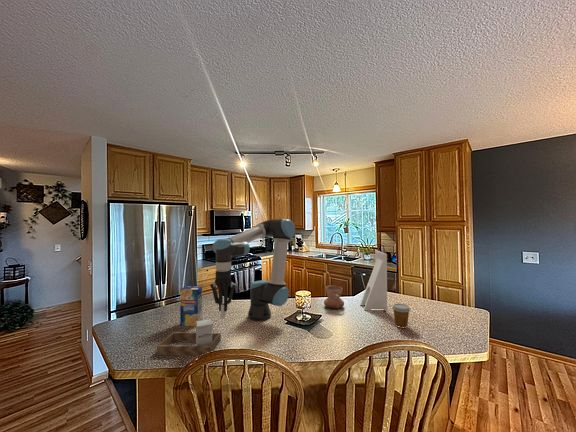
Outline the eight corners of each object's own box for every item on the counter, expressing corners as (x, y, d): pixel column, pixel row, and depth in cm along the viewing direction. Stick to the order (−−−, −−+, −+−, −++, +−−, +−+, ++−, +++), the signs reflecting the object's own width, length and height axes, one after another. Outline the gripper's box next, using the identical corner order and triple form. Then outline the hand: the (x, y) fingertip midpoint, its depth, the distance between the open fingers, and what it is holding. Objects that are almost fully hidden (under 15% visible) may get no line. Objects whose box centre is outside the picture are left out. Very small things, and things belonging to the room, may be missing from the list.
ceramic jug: (347, 310, 177) (347, 290, 177) (327, 311, 175) (327, 290, 176) (339, 302, 195) (339, 284, 195) (321, 303, 193) (321, 284, 194)
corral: (220, 340, 135) (220, 332, 135) (210, 355, 120) (210, 347, 120) (173, 339, 136) (173, 331, 136) (156, 354, 121) (156, 346, 121)
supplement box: (196, 352, 123) (196, 326, 123) (195, 345, 129) (195, 320, 130) (212, 349, 126) (212, 323, 126) (210, 342, 132) (210, 318, 132)
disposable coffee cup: (410, 324, 154) (409, 304, 154) (410, 331, 145) (410, 309, 145) (393, 321, 158) (392, 302, 158) (392, 328, 149) (392, 307, 149)
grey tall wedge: (357, 303, 193) (357, 250, 193) (376, 303, 193) (376, 250, 193) (366, 312, 173) (365, 254, 173) (387, 312, 173) (386, 253, 173)
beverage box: (197, 326, 153) (197, 289, 153) (180, 325, 153) (180, 289, 154) (202, 321, 160) (202, 286, 160) (185, 321, 160) (185, 286, 160)
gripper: (238, 268, 131) (237, 315, 130) (213, 268, 131) (212, 314, 131) (234, 271, 123) (233, 320, 123) (207, 271, 124) (207, 320, 123)
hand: (223, 317), depth 127 cm, fingers closed
